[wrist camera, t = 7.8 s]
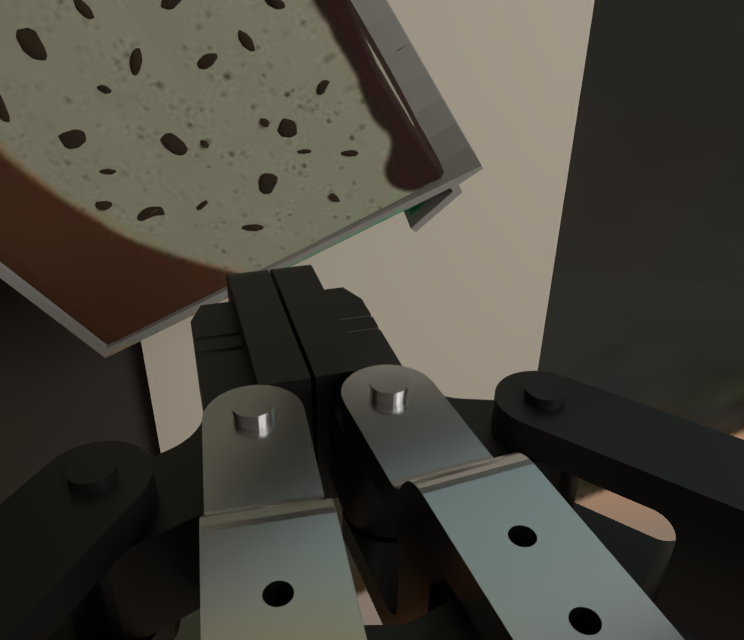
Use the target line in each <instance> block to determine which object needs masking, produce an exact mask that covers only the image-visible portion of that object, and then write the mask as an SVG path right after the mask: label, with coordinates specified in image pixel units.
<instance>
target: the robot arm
mask: <svg viewBox="0 0 744 640" xmlns="http://www.w3.org/2000/svg"><path fill="white" fill-rule="evenodd" d="M227 292H228V302H223V303H215V304H207V305H200V307H199V309H198V310H197V312H196V313H195V315H194V317H193V318H192V320H191V329H192V337H193V344H194V352H195V359H196V367H197V374H198V382H199V389H200V396H201V403H202V409H203V416H202V422H201V424H200V426H199V427H198V428H197V430H196V431H195V432H194V433H193V434H192V435H191V436H190V437H189V438H188V439H186V440H185V441H184V442H182V443H180V444H179V445H177V446H175V447H174V448H171V449H169V450H167V451H165V452H162V453H160V454H157V455H155V456H153V457H149V455H148V454H147V453H146V452H145V451H144V450H142V449H141V448H139V447H138V446H135V445H133V444H130V443H125V442H119V441H102V442H95V443H90V444H86V445H82V446H79V447H76V448H74V449H71V450H69V451H67V452H65V453H63V454H61V455H60V456H58V457H56V458H55V459H54V460H52V461H51V462H50V463H48V464H47V465H46V466H45V467H44V468H42V469H41V470H40V471H39V472H38V473H37V474H35V475H34V476H33V477H32V478H31V479H29V480H28V481H27V482H26V483H25V484H24V485H22V486H21V487H20V488H19V489H18V490H17V491H15V492H14V493H13V494H12V495H11V496H10V497H8V498H7V499H6V500H5V501H4V502H3V503H1V504H0V640H174V639H175V637H176V635H177V633H178V630H179V626H180V621H181V618H183V617H185V616H187V615H188V614H190V613H192V612H194V611H196V610H198V609H199V608H200V618H201V640H744V440H743V439H740V438H737V437H734V436H731V435H728V434H726V433H723V432H720V431H717V430H714V429H712V428H709V427H706V426H703V425H700V424H697V423H695V422H692V421H689V420H686V419H683V418H680V417H678V416H675V415H672V414H669V413H666V412H664V411H661V410H658V409H655V408H652V407H649V406H647V405H644V404H641V403H638V402H635V401H633V400H630V399H627V398H624V397H621V396H618V395H616V394H613V393H610V392H607V391H604V390H601V389H599V388H596V387H593V386H590V385H587V384H585V383H582V382H579V381H576V380H573V379H570V378H568V377H565V376H562V375H558V374H555V373H550V372H544V371H523V372H518V373H514V374H511V375H509V376H507V377H505V378H503V379H502V380H501V381H500V382H499V383H498V385H497V386H496V389H495V395H494V400H482V399H461V398H452V397H446V396H444V395H443V394H442V393H441V391H440V390H439V389H438V387H437V386H436V385H435V384H434V382H433V381H432V380H431V379H430V378H429V377H427V376H426V375H425V374H423V373H421V372H419V371H417V370H415V369H412V368H409V367H405V366H402V365H401V363H400V361H399V360H398V358H397V356H396V355H395V353H394V351H393V350H392V348H391V346H390V345H389V343H388V341H387V340H386V338H385V336H384V335H383V333H382V331H381V330H379V328H378V325H377V323H376V322H375V320H374V318H373V317H371V313H370V312H369V310H368V308H367V307H366V305H365V303H364V302H363V300H362V299H361V298H360V297H358V296H356V295H355V294H353V293H351V292H350V291H348V290H347V289H345V288H343V287H340V288H332V289H325V290H324V288H323V286H322V284H321V282H320V280H319V278H318V277H317V275H316V273H315V271H314V269H313V267H312V265H303V266H294V267H286V268H277V269H271V270H270V273H269V271H268V270H261V271H252V272H244V273H235V274H227ZM579 478H580V479H583V480H585V481H587V482H590V483H592V484H594V485H597V486H599V487H601V488H604V489H606V490H608V491H611V492H613V493H616V494H618V495H620V496H623V497H625V498H627V499H630V500H632V501H635V502H637V503H639V504H642V505H644V506H646V507H649V508H651V509H653V510H655V511H657V512H659V513H660V514H662V515H663V516H664V517H665V518H666V519H667V520H668V521H669V522H670V523H671V525H672V526H673V528H674V530H675V533H676V540H675V541H662V540H658V539H655V538H653V537H651V536H649V535H646V534H644V533H642V532H640V531H638V530H635V529H633V528H631V527H628V526H626V525H624V524H622V523H619V522H617V521H615V520H613V519H610V518H608V517H606V516H604V515H601V514H599V513H597V512H595V511H592V510H590V509H588V508H585V507H583V506H581V505H579V504H577V503H574V501H575V497H576V492H577V487H578V483H579ZM333 498H339V501H340V504H341V507H342V528H343V537H344V540H345V543H346V545H347V547H348V549H349V551H350V554H351V556H352V558H353V560H354V562H355V565H356V567H357V569H358V571H359V573H360V576H361V578H362V580H363V582H364V584H365V587H366V589H367V591H368V593H369V595H370V598H371V599H372V602H373V604H374V606H375V608H376V611H377V613H378V615H379V617H380V619H381V622H382V624H383V625H363V620H362V617H361V612H360V608H359V604H358V600H357V595H356V591H355V587H354V583H353V579H352V575H351V571H350V566H349V562H348V558H347V554H346V550H345V546H344V542H343V538H342V533H341V529H340V525H339V521H338V517H337V513H336V509H335V505H334V502H333V500H332V499H333Z"/></svg>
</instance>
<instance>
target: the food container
mask: <svg viewBox="0 0 744 640" xmlns="http://www.w3.org/2000/svg"><path fill="white" fill-rule="evenodd" d="M482 169H483V167H482V165H481V163H480V161H479V160H478V158H477V156H476V154H475V152H474V151H473V149H472V147H471V145H470V143H469V142H468V140H467V138H466V137H465V135H464V133H463V131H462V130H461V128H460V126H459V124H458V123H457V121H456V119H455V117H454V116H453V114H452V112H451V111H450V109H449V107H448V105H447V104H446V102H445V100H444V98H443V97H442V95H441V93H440V91H439V90H438V88H437V86H436V84H435V83H434V81H433V79H432V77H431V76H430V74H429V72H428V70H427V69H426V67H425V65H424V64H423V62H422V60H421V58H420V57H419V55H418V53H417V51H416V50H415V48H414V46H413V44H412V43H411V41H410V39H409V37H408V36H407V34H406V32H405V30H404V29H403V27H402V25H401V23H400V22H399V20H398V18H397V16H396V15H395V13H394V11H393V9H392V8H391V6H390V4H389V2H388V1H387V0H0V278H1V279H2V280H3V281H5V282H6V283H7V284H9V285H10V286H11V287H13V288H14V289H15V290H17V291H18V292H19V293H21V294H22V295H23V296H25V297H26V298H27V299H28V300H30V301H31V302H32V303H34V304H35V305H36V306H38V307H39V308H40V309H42V310H43V311H44V312H46V313H47V314H48V315H49V316H51V317H52V318H53V319H55V320H56V321H57V322H59V323H60V324H61V325H63V326H64V327H65V328H67V329H68V330H69V331H70V332H72V333H73V334H74V335H76V336H77V337H78V338H80V339H81V340H82V341H84V342H85V343H86V344H88V345H89V346H90V347H92V348H93V349H94V350H95V351H97V352H98V353H99V354H101V355H102V356H103V357H105V358H107V357H109V356H111V355H113V354H115V353H117V352H119V351H121V350H123V349H125V348H128V347H130V346H132V345H134V344H136V343H138V342H140V341H142V340H144V339H146V338H148V337H150V336H152V335H154V334H156V333H158V332H160V331H162V330H164V329H166V328H168V327H170V326H172V325H174V324H176V323H178V322H180V321H182V320H184V319H186V318H188V317H190V316H192V315H194V314H195V313H196V312H197V310H198V309H199V307H200V305H207V304H215V303H219V302H221V301H223V300H225V299H227V298H228V292H227V274H235V273H244V272H252V271H261V270H268V271H269V273H270V270H271V269H277V268H286V267H291V266H293V265H295V264H297V263H300V262H302V261H304V260H306V259H308V258H310V257H312V256H314V255H316V254H318V253H320V252H322V251H324V250H326V249H328V248H330V247H332V246H334V245H336V244H338V243H340V242H342V241H344V240H346V239H348V238H350V237H352V236H354V235H356V234H358V233H360V232H362V231H364V230H366V229H368V228H370V227H372V226H374V225H376V224H378V223H380V222H382V221H385V220H387V219H389V218H391V217H393V216H395V215H397V214H399V213H401V212H403V211H404V213H405V216H406V218H407V221H408V223H409V226H410V228H411V229H412V230H413V231H415V232H417V231H418V230H419V229H420V228H421V227H422V226H424V225H425V224H426V223H427V222H428V221H429V220H431V219H432V218H433V217H434V216H435V215H436V214H438V213H439V212H440V211H441V210H442V209H443V208H445V207H446V206H447V205H448V204H449V203H450V202H452V201H453V200H454V199H455V198H456V197H457V196H459V195H460V194H461V193H462V190H461V188H460V186H459V184H460V183H462V182H463V181H465V180H466V179H468V178H469V177H471V176H472V175H474V174H476V173H477V172H479V171H480V170H482Z"/></svg>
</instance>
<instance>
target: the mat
mask: <svg viewBox="0 0 744 640" xmlns="http://www.w3.org/2000/svg"><path fill="white" fill-rule="evenodd" d="M387 1H388V2H389V4H390V6H391V8H392V9H393V11H394V13H395V15H396V16H397V18H398V20H399V22H400V23H401V25H402V27H403V29H404V30H405V32H406V34H407V36H408V37H409V39H410V41H411V43H412V44H413V46H414V48H415V50H416V51H417V53H418V55H419V57H420V58H421V60H422V62H423V64H424V65H425V67H426V69H427V70H428V72H429V74H430V76H431V77H432V79H433V81H434V83H435V84H436V86H437V88H438V90H439V91H440V93H441V95H442V97H443V98H444V100H445V102H446V104H447V105H448V107H449V109H450V111H451V112H452V114H453V116H454V117H455V119H456V121H457V123H458V124H459V126H460V128H461V130H462V131H463V133H464V135H465V137H466V138H467V140H468V142H469V143H470V145H471V147H472V149H473V151H474V152H475V154H476V156H477V158H478V160H479V161H480V163H481V165H482V167H483V169H482V170H480V171H479V172H477V173H476V174H474V175H472V176H471V177H469V178H468V179H466V180H465V181H463V182H462V183H460V184H459V186H460V188H461V190H462V193H461V194H460V195H459V196H457V197H456V198H455V199H454V200H453V201H452V202H450V203H449V204H448V205H447V206H446V207H445V208H443V209H442V210H441V211H440V212H439V213H438V214H436V215H435V216H434V217H433V218H432V219H431V220H429V221H428V222H427V223H426V224H425V225H424V226H422V227H421V228H420V229H419V230H418V231H417V232H415V231H413V230H412V229H411V228H410V226H409V223H408V221H407V218H406V216H405V213H404V211H403V212H401V213H399V214H397V215H395V216H393V217H391V218H389V219H387V220H385V221H382V222H380V223H378V224H376V225H374V226H372V227H370V228H368V229H366V230H364V231H362V232H360V233H358V234H356V235H354V236H352V237H350V238H348V239H346V240H344V241H342V242H340V243H338V244H336V245H334V246H332V247H330V248H328V249H326V250H324V251H322V252H320V253H318V254H316V255H314V256H312V257H310V258H308V259H306V260H304V261H302V262H300V263H297V264H295V265H293V266H291V267H294V266H303V265H312V267H313V269H314V271H315V273H316V275H317V277H318V278H319V280H320V282H321V284H322V286H323V288H324V290H325V289H332V288H340V287H343V288H345V289H347V290H348V291H350V292H351V293H353V294H355V295H356V296H358V297H360V298H361V299H362V300H363V302H364V303H365V305H366V307H367V308H368V310H369V312H370V313H371V317H373V318H374V320H375V322H376V323H377V325H378V328H379V330H381V331H382V333H383V335H384V336H385V338H386V340H387V341H388V343H389V345H390V346H391V348H392V350H393V351H394V353H395V355H396V356H397V358H398V360H399V361H400V363H401V365H402V366H405V367H409V368H412V369H415V370H417V371H419V372H421V373H423V374H425V375H426V376H427V377H429V378H430V379H431V380H432V381H433V382H434V384H435V385H436V386H437V387H438V389H439V390H440V391H441V393H442V394H443V395H444V396H446V397H452V398H461V399H482V400H494V395H495V389H496V386H497V385H498V383H499V382H500V381H501V380H502V379H503V378H505V377H507V376H509V375H511V374H514V373H518V372H523V371H537V370H538V364H539V357H540V351H541V344H542V338H543V332H544V325H545V319H546V312H547V306H548V299H549V293H550V286H551V280H552V273H553V267H554V260H555V254H556V247H557V241H558V234H559V228H560V221H561V215H562V208H563V202H564V195H565V189H566V182H567V176H568V169H569V163H570V156H571V150H572V143H573V137H574V130H575V124H576V117H577V111H578V104H579V98H580V91H581V85H582V78H583V72H584V65H585V59H586V52H587V46H588V39H589V33H590V26H591V20H592V13H593V7H594V0H387ZM223 302H228V298H227V299H225V300H223V301H221V302H219V303H223ZM194 315H195V314H194ZM194 315H192V316H190V317H188V318H186V319H184V320H182V321H180V322H178V323H176V324H174V325H172V326H170V327H168V328H166V329H164V330H162V331H160V332H158V333H156V334H154V335H152V336H150V337H148V338H146V339H144V340H142V341H141V345H142V350H143V356H144V362H145V367H146V373H147V378H148V384H149V390H150V395H151V401H152V407H153V412H154V418H155V423H156V429H157V435H158V440H159V446H160V452H161V453H162V452H165V451H167V450H169V449H171V448H174V447H175V446H177V445H179V444H180V443H182V442H184V441H185V440H186V439H188V438H189V437H190V436H191V435H192V434H193V433H194V432H195V431H196V430H197V428H198V427H199V426H200V424H201V422H202V416H203V409H202V403H201V396H200V389H199V382H198V374H197V367H196V359H195V352H194V344H193V337H192V329H191V320H192V318H193V317H194Z"/></svg>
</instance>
